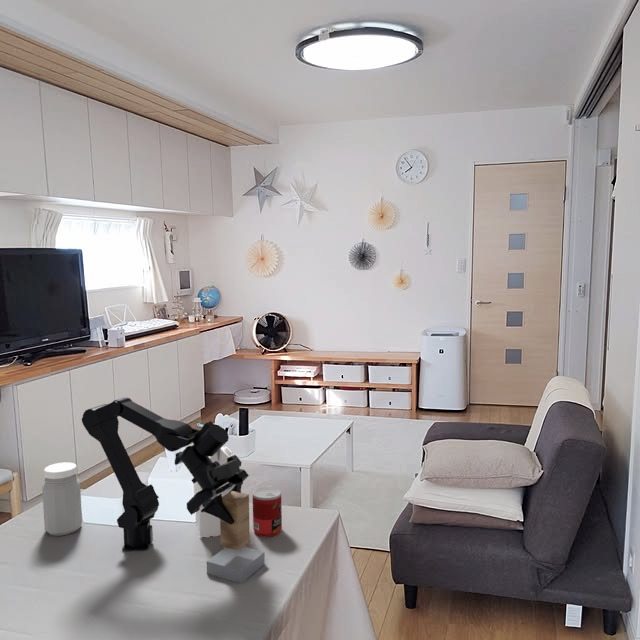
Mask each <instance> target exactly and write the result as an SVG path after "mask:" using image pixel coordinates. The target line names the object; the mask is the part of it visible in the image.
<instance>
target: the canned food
mask: <svg viewBox="0 0 640 640" xmlns="http://www.w3.org/2000/svg"><path fill="white" fill-rule="evenodd" d="M282 513H283V512H282V491H281V490H280V489H278V488H274V487H261V488H257V489H254V490H253V492H252V525H253V526H252V527H253V528H252V529H253V532H254V534H255V535H257V536H260V537H267V538H269V537H273V536H277V535H279V534H280V533H281V531H282V529H283V525H282V524H283V521H282V519H283V517H282Z"/></svg>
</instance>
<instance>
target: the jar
mask: <svg viewBox="0 0 640 640" xmlns="http://www.w3.org/2000/svg"><path fill="white" fill-rule="evenodd" d="M77 465H78V464H76V463H74V462H68V461H65V462H56V463H52V464H50V465H47V466H46V467H44V469H43V475H44V482H43V484H42V487H41V489H42V490H41V491H42V505H43V506H42V509H43V521H44V522H43V523H44V531H46V532H47V533H48V534H49V535H50V536H57V537H59V536H67V535H71V534H73V533H75V532H76V531H77V530H79V529H80V528H81V526H82V525H83V513H82V509H83V508H82V495H81V494H82V493H81V479H79V478H78V473H77V471H78V466H77Z"/></svg>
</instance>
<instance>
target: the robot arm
mask: <svg viewBox="0 0 640 640" xmlns="http://www.w3.org/2000/svg"><path fill="white" fill-rule="evenodd" d="M119 417H121V418H122V419H123V420H125V421H128V422H129V423H130V424H133V425H134V426H137V427H138V428H140V429H142V430H143V431H146V432H148V433H149V434H151V435H152V436H153V437H155V439H156V441H157V443H158V444H159V445H160V446H162V448H164V449H165V450H167V451H169V452H171V453H172V452H176V451H178V450H181V449H183V448H184V449H183V451H178V452H176V453H175V458H174V465H175V466H177V465H179V464H181V463H183V464H184V466H185V467H186V468H187V470H188V471H189V473H190V475H192V477H193V478H192V479H191V480H190V481H191V482H192V483H193V484H196V482H197V483H198V484H199V485H200V487H201V488H202V489H203V490H201V491H199V492H198V493H196V492H195V494H194V495H193V496H192V497H191V499H189V501H187V502H186V510H187V511H188V513H189V514H190V515H191V516H192V515H194V514H195V512H197V511H199V510H200V506H201V505H202V506H203V507H204V508H203V509H202V510H201V512H206V513H208V514H211V515H213V516H215V517H217V518H219V519H221V520H223V521H225V522H227V523H229V524H233V523H234V520H233V518H232V516H231V514H230V513H229V511H228V510H227V508H226V507H225V505H224V504H223V502H222V494H220V493H222V492H223V491H224V493H225V494H228V493H229V492H231V491H235V492H239V493H242V487H243V486H242V485H243V484H244V481H245V480H246V479H248V477H249V476H250V475H249V474H248V472H247V471H246V470H245V469H244V468H241V467H242V461H241V460H240V458H239V457H238V456H237V455H236V454H234V455H233V454H232V455H233V456H231V457H229V458H227V463H224V464H222V465H220V464H219V462H217V461H215V462H212V461H211V459H210V458H209V457H208V456H213V455H214V454H215V453H216V452H217V451H218V450H219V449H220V448H221V447H222V446H223V447H224V445H225V444H226V443H227V442H228V441H229V438H230V437H229V434H228V432H227V431H226V429H225V428H224V427H222V426H220V425H219V424H215V423H214V422H212V420H209V421H207V422H205V423H204V424H203V425H202V428H201V429H197V428H194V427H192V426H191V425H190V424H188V423H186V422H183V421H180V420H177V419H167V418H164V417H163V416H160V415H158V414H157V413H155V412H154V411H152V410H149V409H147V408H145V407H144V406H142V405H140V404H138V403H136V402H134V401H133V400H132V399H131V398H130V397H126V396H125V397H121V398H118V399H115V400H113V401H112V402H109V403H104V404H100V405H97V406H95V407H91V408H88V409H86V410H85V411H84V412H83V414H82V418H81V423H82V425H83V427H84V428H85V430H86V432H87V433H88V435H89V436H91V437H92V438H94V439H95V440H96V441H98V442H99V444H100V445H101V448H102V450H103V452H104V453H105V456H106V458H107V460H108V462H109V464H110V466H111V468H112V470H113V473H114V475H115V477H116V479H117V481H118V483H119V485H120V488H121V490H122V501H121V503H122V507H123V510H124V511H123V512H122V514H120V516H118V517H117V519H116V523H117V525H118V528H121V529H123V546H122V548H121V549H122V551H124V552H125V551H146V550H148V549H149V547H150V545H152V542H153V539H154V535H153V534H154V533H153V524H151V519H153V518H155V514H156V512H158V509H159V506H160V501H159V498H160V496H159V495H158V494H157V492H156V490H155V488H154V486H153V484H149V485H146V484H145V483H144V482H142V480H141V479H140V476H139V475H138V472H137V469H136V468H135V466H134V464H133V462H132V460H131V458H130V455H129V454H128V453H129V452H128V451H127V449H126V448H125V445H124V443H123V441H122V439H121V437H120V435H119V424H120V423H119ZM191 444H192V445H191ZM218 494H220V495H218Z"/></svg>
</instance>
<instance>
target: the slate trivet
mask: <svg viewBox="0 0 640 640" xmlns="http://www.w3.org/2000/svg"><path fill="white" fill-rule="evenodd" d="M265 563H266V562H265V551H261V550H257V549H253V548H250V547H247V546H246V547H245V546H244V547H242V548H241V549H240V550H238V551H237V550H233V549H230V548H226V547H223V549H222V550H219V551H218V552H217V553H216V554H215V555H213V556H212V557H210V558H209V559H208V560H207V561H206V574H208V573H209V574H208V575H211V574H213V575H212V576H215V575H216V576H215V577H218V576H219V578H222V579H226V580H230V581H233V582H236V583H240V584H242V583H244V582H245V581H246V580H247V579H249V577H250V576H252V575H253V574H254V573H255V572H257V571H258V570H259V569H260V568H261V567H263V566H264V565H265Z"/></svg>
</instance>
